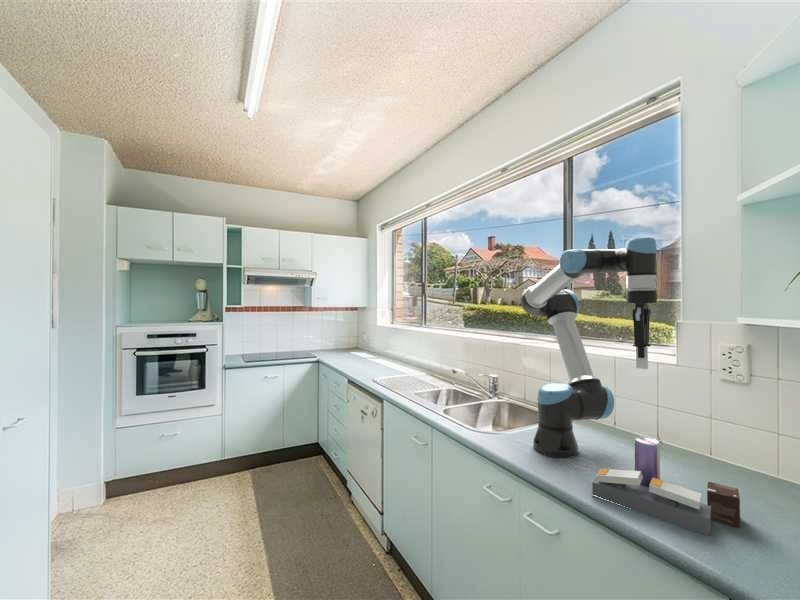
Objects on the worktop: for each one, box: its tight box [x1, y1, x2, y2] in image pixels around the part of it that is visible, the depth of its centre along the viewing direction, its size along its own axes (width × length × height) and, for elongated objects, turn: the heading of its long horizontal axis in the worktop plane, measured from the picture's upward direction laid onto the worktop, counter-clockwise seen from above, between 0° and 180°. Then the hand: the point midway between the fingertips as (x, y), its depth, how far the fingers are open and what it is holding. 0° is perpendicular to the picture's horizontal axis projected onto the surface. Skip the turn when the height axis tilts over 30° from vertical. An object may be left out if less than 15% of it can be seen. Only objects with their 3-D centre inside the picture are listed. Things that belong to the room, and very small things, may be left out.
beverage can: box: [634, 436, 661, 488], centre depth 102 cm, size 6×6×15 cm
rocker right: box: [649, 478, 702, 509], centre depth 91 cm, size 10×5×2 cm, turn 47°
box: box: [706, 481, 741, 529], centre depth 90 cm, size 6×6×7 cm
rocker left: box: [596, 468, 643, 485], centre depth 99 cm, size 10×5×2 cm, turn 46°
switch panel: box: [591, 476, 712, 537], centre depth 95 cm, size 25×7×5 cm, turn 47°
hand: (642, 368), depth 108 cm, fingers closed
